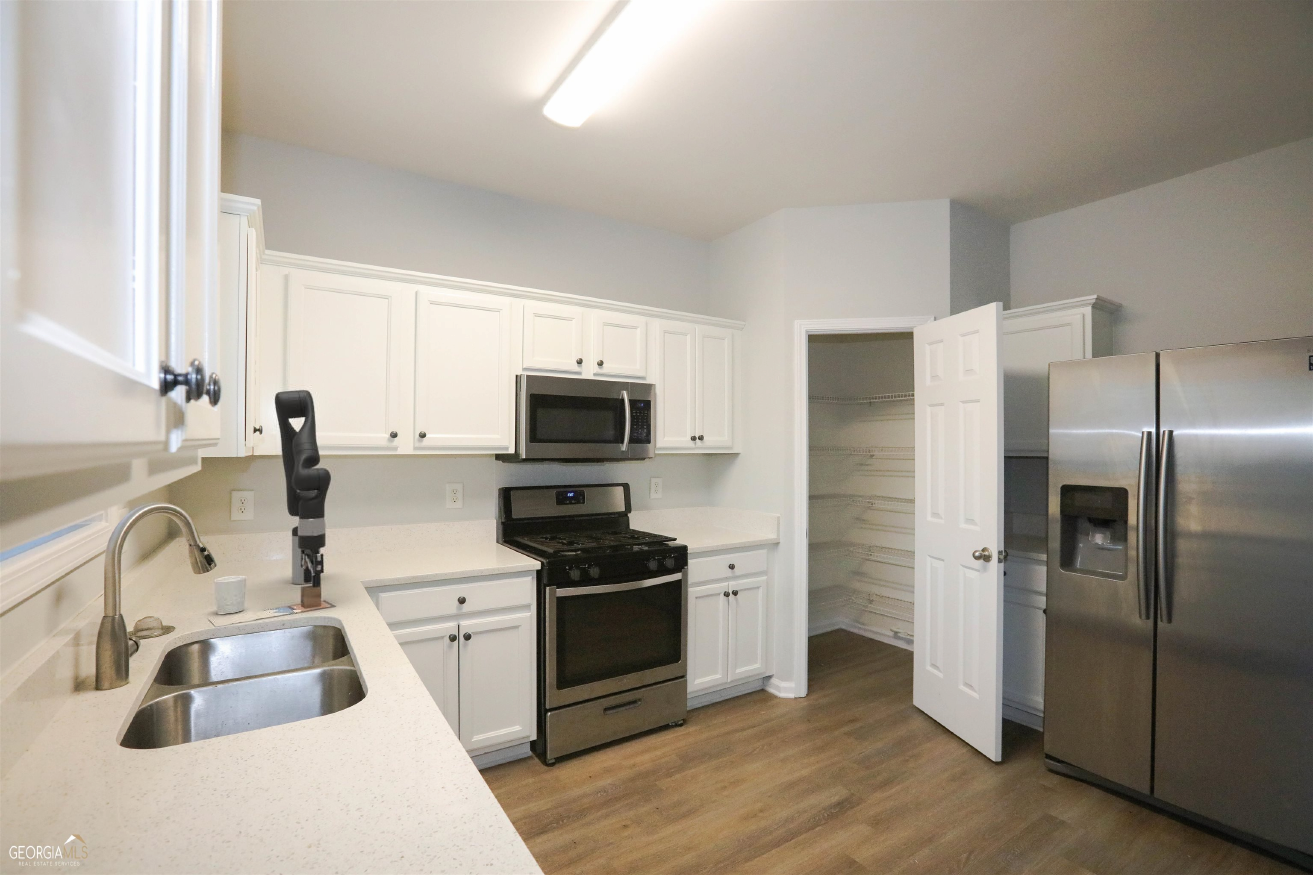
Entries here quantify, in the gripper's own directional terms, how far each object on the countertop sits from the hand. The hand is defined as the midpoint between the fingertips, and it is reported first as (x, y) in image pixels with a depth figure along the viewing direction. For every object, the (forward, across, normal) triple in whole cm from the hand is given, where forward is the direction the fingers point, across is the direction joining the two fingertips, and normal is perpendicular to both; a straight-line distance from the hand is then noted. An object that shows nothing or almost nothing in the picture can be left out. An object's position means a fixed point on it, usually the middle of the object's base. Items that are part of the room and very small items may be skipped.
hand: (312, 584), depth 196 cm
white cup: (+7, -11, -19) cm, 23 cm away
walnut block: (+6, 0, 0) cm, 7 cm away
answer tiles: (+7, 0, -10) cm, 12 cm away
